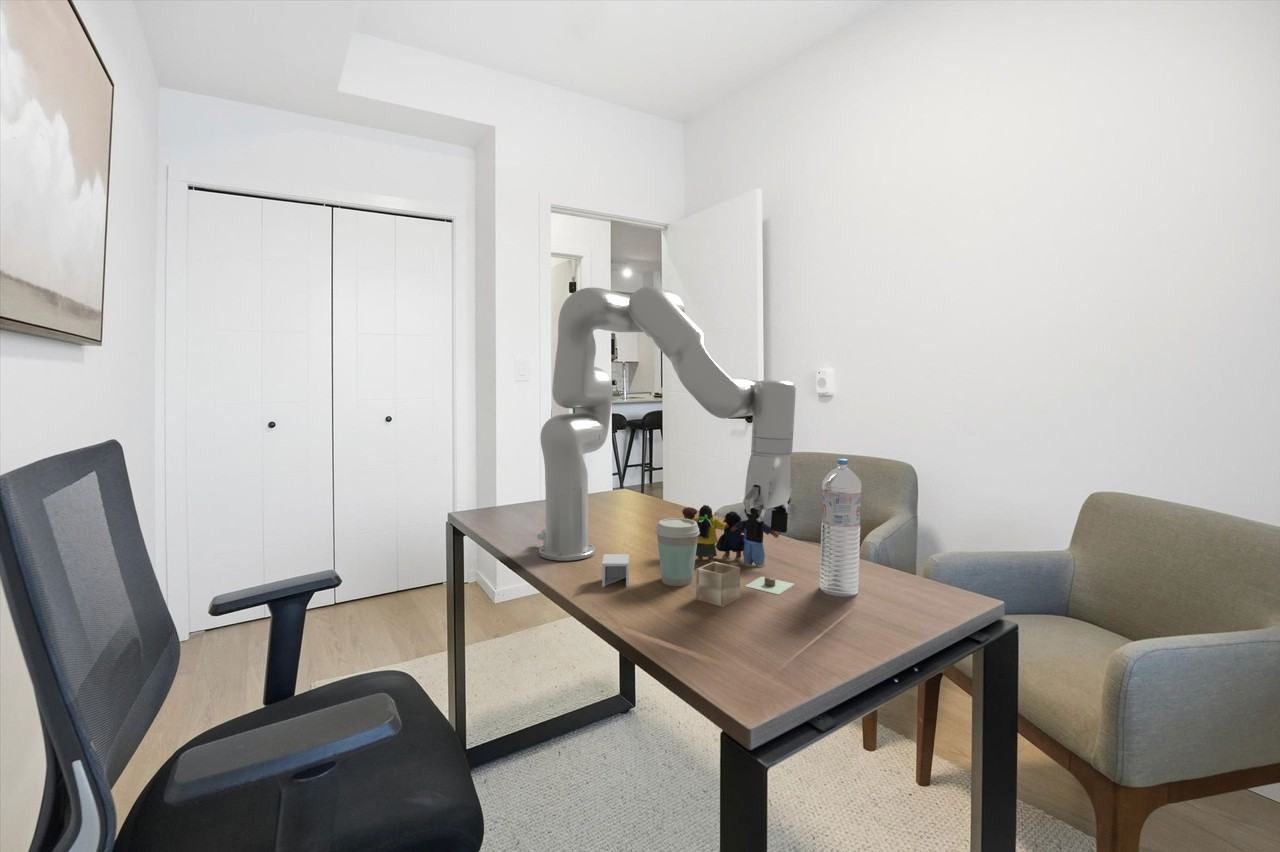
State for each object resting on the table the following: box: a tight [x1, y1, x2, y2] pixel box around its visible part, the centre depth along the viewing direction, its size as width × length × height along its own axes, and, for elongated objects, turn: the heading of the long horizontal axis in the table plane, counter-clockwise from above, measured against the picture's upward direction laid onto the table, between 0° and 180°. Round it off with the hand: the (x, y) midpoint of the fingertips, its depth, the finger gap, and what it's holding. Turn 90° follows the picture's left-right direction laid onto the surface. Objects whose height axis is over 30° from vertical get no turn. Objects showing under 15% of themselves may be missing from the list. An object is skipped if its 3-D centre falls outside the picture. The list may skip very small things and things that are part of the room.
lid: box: [744, 576, 796, 596], centre depth 113 cm, size 7×7×2 cm
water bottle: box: [819, 458, 862, 598], centre depth 110 cm, size 7×7×25 cm
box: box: [695, 560, 741, 608], centre depth 106 cm, size 6×6×6 cm
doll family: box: [681, 504, 780, 569], centre depth 130 cm, size 23×9×13 cm, turn 81°
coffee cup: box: [655, 517, 700, 587], centre depth 116 cm, size 8×8×12 cm
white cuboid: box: [601, 553, 630, 588], centre depth 115 cm, size 6×5×5 cm
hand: (766, 536), depth 113 cm, fingers open, 9 cm apart
